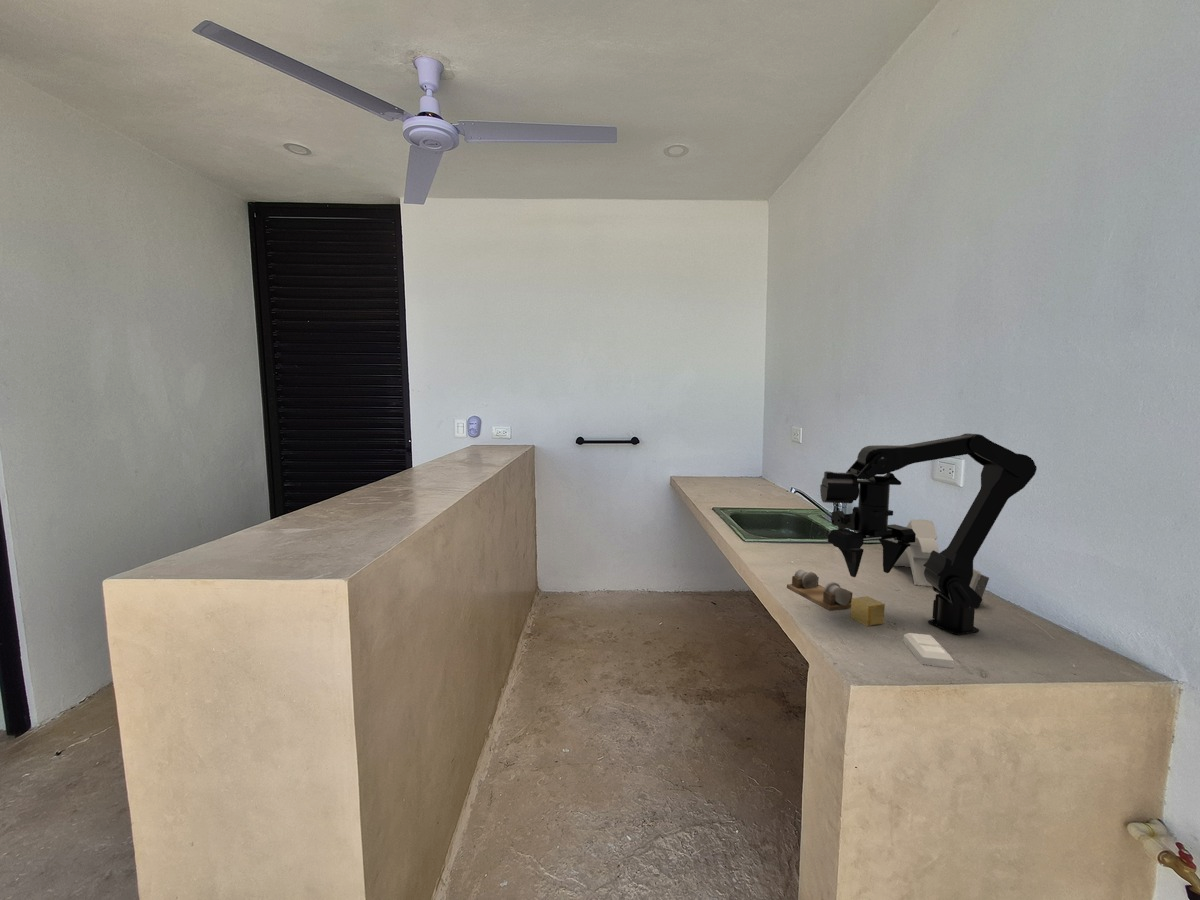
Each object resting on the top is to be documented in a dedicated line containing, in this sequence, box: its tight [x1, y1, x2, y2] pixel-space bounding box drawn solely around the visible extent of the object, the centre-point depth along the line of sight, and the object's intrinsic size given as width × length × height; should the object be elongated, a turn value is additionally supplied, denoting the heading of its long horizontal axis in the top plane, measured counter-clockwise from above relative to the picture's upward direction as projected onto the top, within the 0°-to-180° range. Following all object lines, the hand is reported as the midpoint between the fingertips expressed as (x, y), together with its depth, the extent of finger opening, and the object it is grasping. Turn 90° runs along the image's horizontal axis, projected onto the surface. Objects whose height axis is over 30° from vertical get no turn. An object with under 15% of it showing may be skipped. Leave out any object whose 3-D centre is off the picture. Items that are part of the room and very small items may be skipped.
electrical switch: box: [970, 568, 990, 599], centre depth 117 cm, size 9×5×9 cm, turn 0°
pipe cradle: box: [786, 569, 853, 611], centre depth 119 cm, size 15×8×5 cm, turn 17°
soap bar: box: [903, 632, 955, 669], centre depth 92 cm, size 5×9×3 cm, turn 167°
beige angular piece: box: [893, 518, 940, 587], centre depth 134 cm, size 6×16×20 cm
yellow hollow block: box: [850, 595, 886, 627], centre depth 106 cm, size 5×4×4 cm
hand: (869, 574), depth 106 cm, fingers open, 9 cm apart
